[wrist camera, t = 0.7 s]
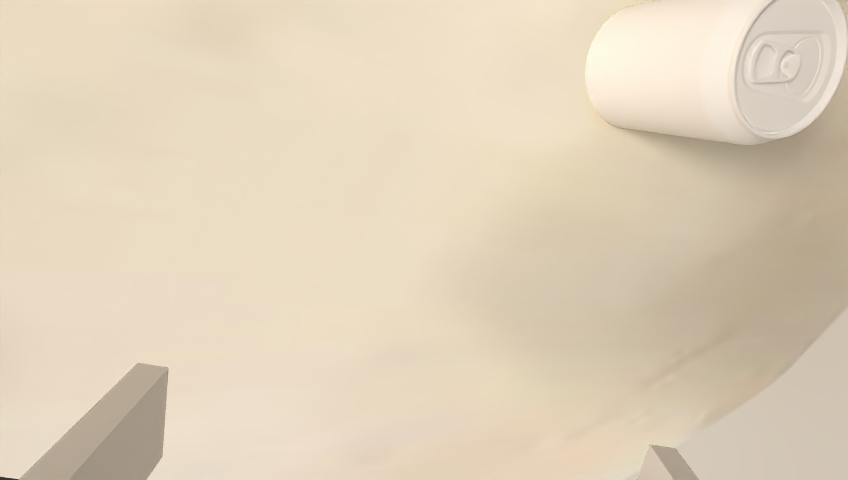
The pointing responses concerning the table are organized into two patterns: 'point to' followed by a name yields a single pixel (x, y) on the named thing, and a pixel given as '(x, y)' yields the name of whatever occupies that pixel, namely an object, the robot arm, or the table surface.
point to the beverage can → (718, 67)
